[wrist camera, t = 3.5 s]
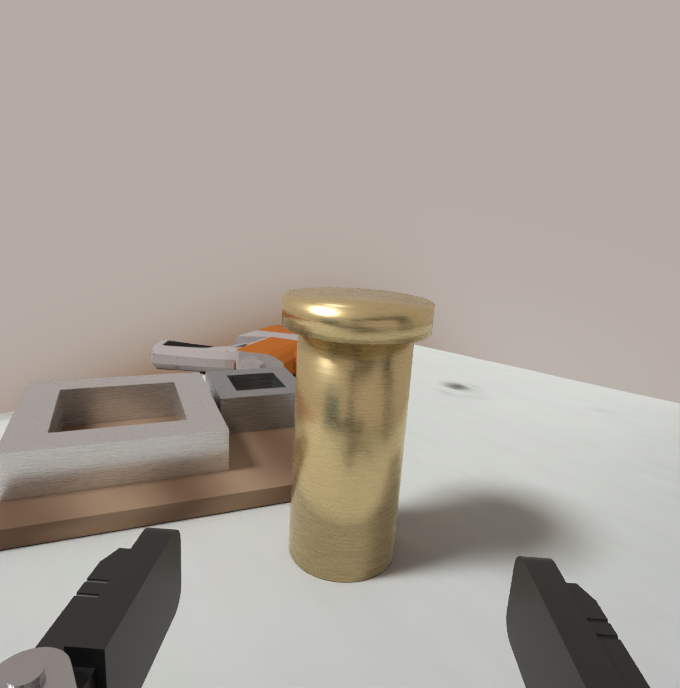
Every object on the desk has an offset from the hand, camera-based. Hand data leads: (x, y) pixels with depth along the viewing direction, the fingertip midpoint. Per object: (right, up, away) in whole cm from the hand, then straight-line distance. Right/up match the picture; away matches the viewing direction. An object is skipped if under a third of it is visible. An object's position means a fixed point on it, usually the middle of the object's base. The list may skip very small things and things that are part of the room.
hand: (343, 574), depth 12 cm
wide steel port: (-14, -2, +20) cm, 24 cm away
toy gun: (-9, +3, +44) cm, 45 cm away
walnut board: (-10, -2, +21) cm, 23 cm away
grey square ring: (-6, -1, +26) cm, 26 cm away
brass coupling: (0, -4, +12) cm, 13 cm away
